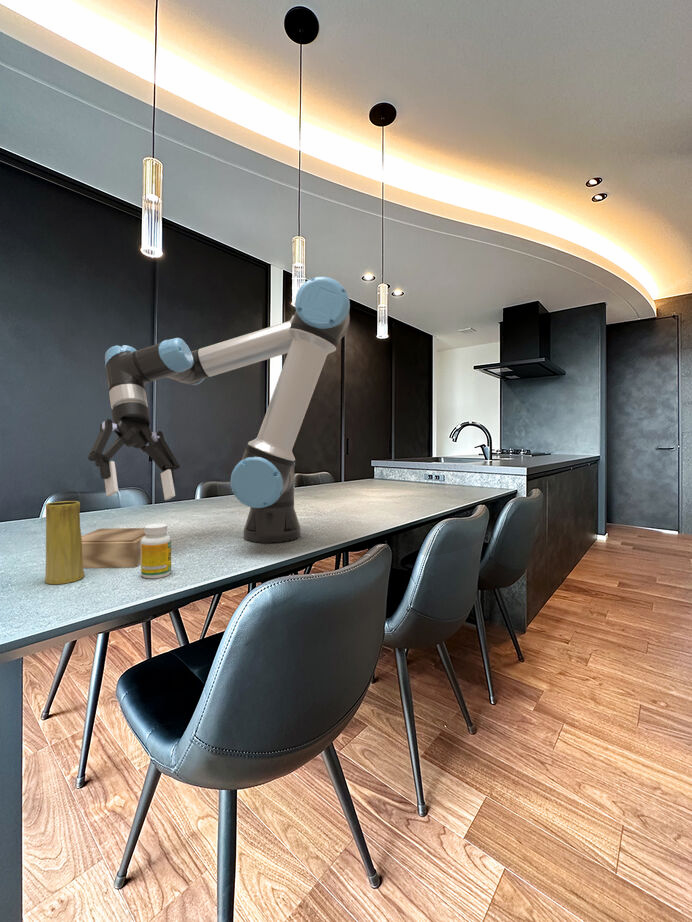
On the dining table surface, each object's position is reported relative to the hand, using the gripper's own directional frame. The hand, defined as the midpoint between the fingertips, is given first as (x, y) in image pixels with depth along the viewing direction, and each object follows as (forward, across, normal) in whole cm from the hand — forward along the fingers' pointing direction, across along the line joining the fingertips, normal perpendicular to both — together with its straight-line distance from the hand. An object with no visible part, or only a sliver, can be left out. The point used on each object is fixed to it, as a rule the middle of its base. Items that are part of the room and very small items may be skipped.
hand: (143, 496), depth 88 cm
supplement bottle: (+18, +2, +3) cm, 18 cm away
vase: (+14, +12, -9) cm, 21 cm away
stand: (+10, -1, -13) cm, 16 cm away
